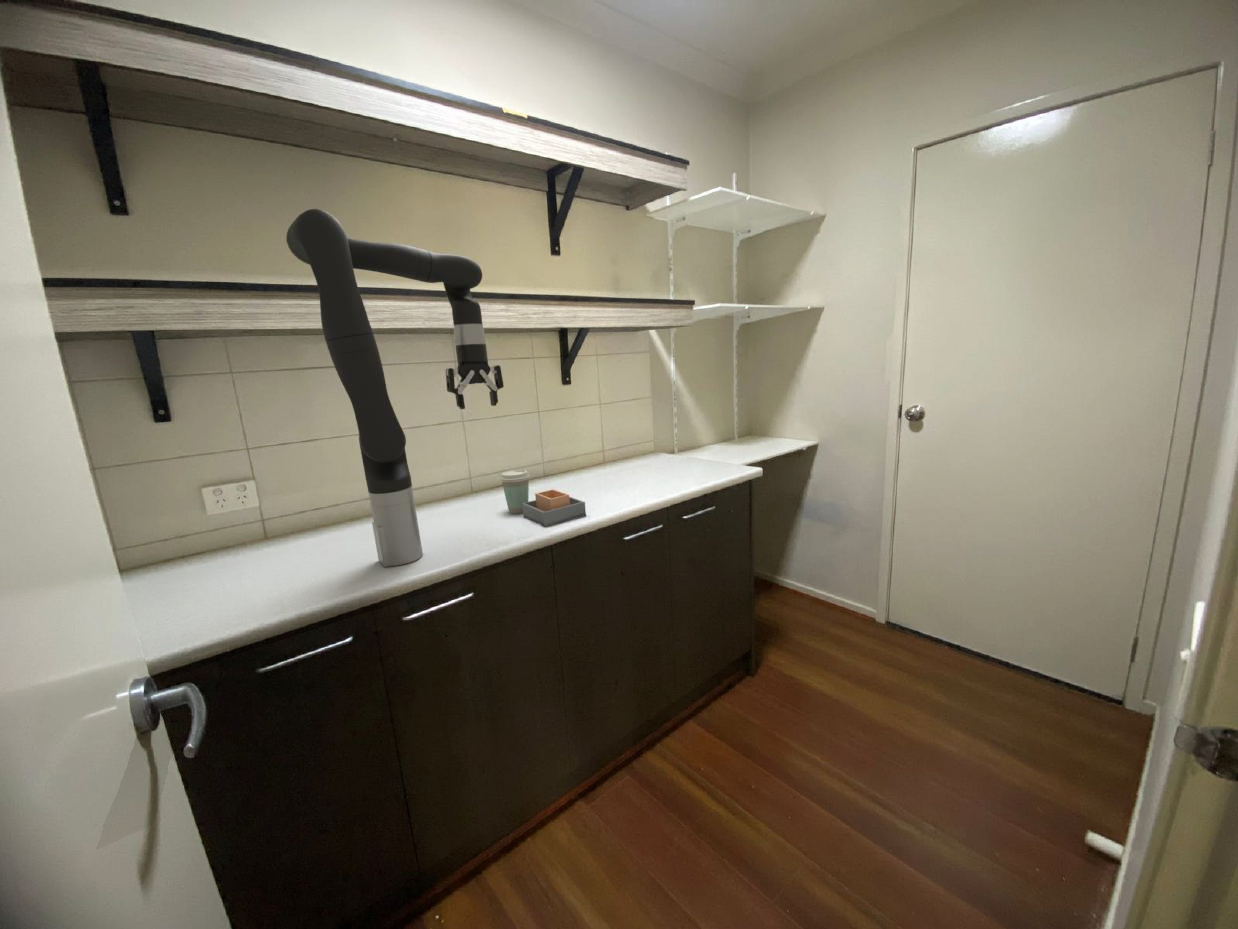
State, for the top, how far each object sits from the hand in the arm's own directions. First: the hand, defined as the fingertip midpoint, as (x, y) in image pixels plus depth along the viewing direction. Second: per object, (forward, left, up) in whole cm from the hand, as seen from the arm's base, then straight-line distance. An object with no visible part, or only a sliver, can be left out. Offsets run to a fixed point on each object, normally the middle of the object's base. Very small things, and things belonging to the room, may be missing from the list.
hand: (478, 407), depth 128 cm
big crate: (+17, -4, -33) cm, 37 cm away
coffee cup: (+12, +9, -33) cm, 37 cm away
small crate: (+17, -4, -32) cm, 37 cm away
